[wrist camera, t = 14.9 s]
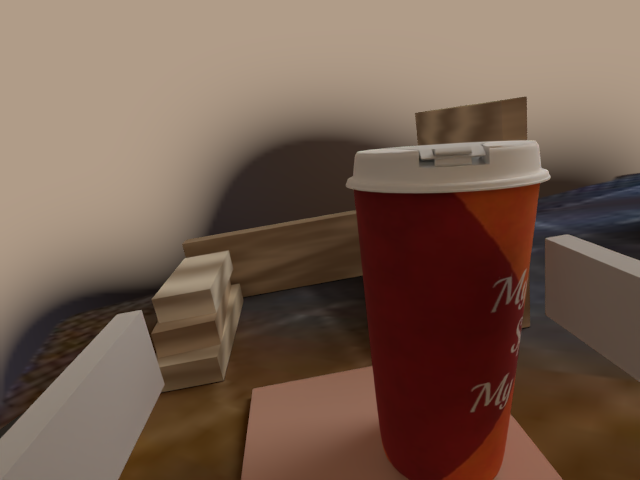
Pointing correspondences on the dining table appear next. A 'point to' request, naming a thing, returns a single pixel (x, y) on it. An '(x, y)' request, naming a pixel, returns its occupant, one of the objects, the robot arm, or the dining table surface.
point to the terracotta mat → (344, 434)
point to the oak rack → (349, 214)
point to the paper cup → (446, 296)
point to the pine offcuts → (196, 321)
